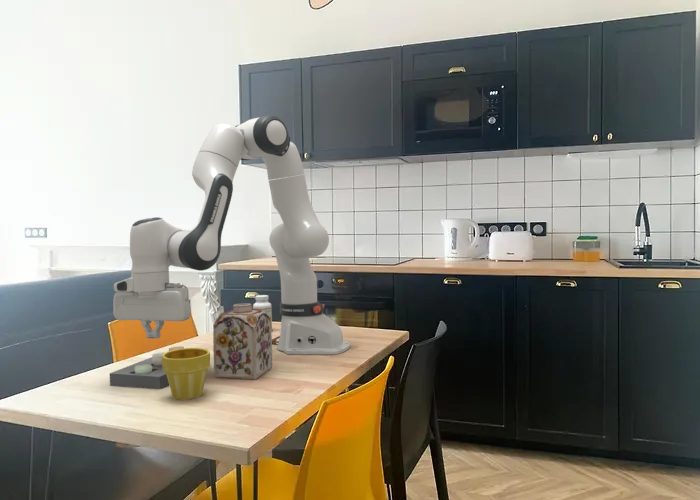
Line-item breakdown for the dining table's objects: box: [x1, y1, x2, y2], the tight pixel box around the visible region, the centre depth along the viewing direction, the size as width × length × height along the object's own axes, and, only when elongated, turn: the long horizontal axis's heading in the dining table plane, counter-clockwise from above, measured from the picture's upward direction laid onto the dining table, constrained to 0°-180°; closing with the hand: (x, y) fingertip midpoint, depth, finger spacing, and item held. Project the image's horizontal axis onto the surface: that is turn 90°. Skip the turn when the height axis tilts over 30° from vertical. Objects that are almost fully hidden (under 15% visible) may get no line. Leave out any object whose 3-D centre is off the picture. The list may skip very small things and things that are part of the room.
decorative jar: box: [212, 303, 273, 381], centre depth 141 cm, size 12×12×18 cm
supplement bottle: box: [252, 294, 273, 331], centre depth 196 cm, size 7×7×13 cm
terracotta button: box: [168, 346, 185, 351], centre depth 146 cm, size 4×4×3 cm
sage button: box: [135, 364, 152, 375], centre depth 133 cm, size 4×4×3 cm
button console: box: [109, 356, 169, 390], centre depth 140 cm, size 14×21×3 cm, turn 164°
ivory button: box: [151, 352, 165, 367], centre depth 140 cm, size 4×4×3 cm
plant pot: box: [162, 347, 211, 401], centre depth 123 cm, size 10×10×10 cm
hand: (153, 338), depth 136 cm, fingers closed
